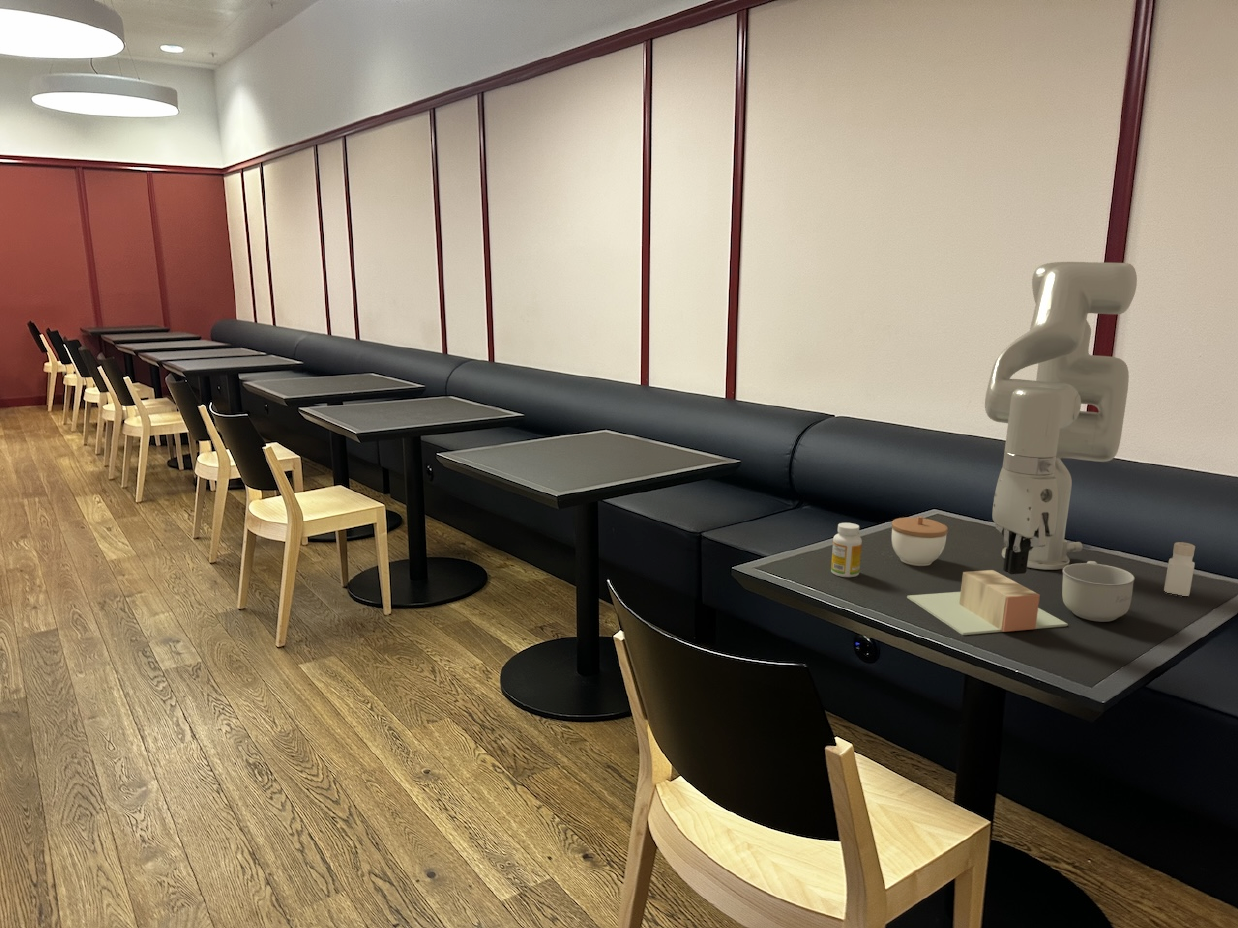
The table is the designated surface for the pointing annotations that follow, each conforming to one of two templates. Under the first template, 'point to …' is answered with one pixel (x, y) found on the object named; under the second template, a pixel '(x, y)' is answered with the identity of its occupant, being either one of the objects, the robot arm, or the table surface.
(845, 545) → the supplement bottle
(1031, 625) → the maple block
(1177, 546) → the pepper shaker
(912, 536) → the lidded jar
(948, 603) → the sage mat
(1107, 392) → the robot arm
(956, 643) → the table surface
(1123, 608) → the teacup
